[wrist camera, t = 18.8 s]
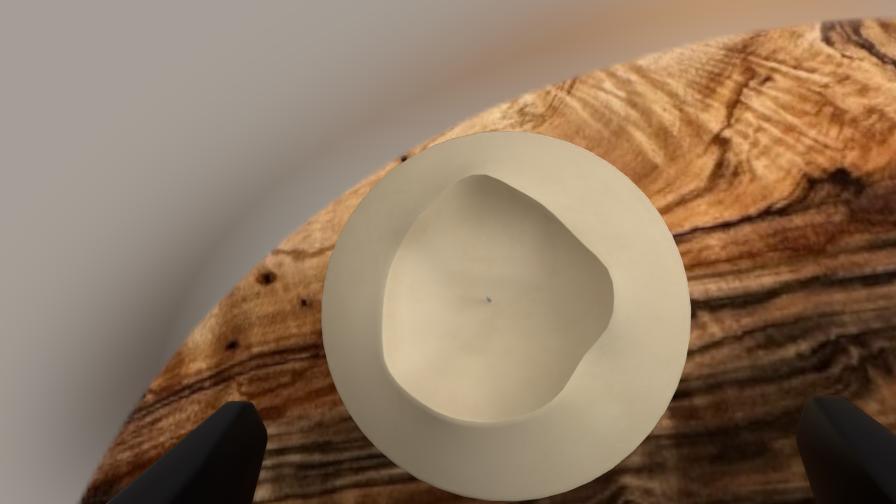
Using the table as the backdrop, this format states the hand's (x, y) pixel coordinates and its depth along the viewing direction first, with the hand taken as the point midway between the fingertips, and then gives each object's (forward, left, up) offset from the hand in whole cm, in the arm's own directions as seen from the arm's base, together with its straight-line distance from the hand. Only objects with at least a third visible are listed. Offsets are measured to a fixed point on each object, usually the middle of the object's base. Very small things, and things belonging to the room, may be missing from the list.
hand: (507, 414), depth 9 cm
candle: (+1, +1, -7) cm, 8 cm away
